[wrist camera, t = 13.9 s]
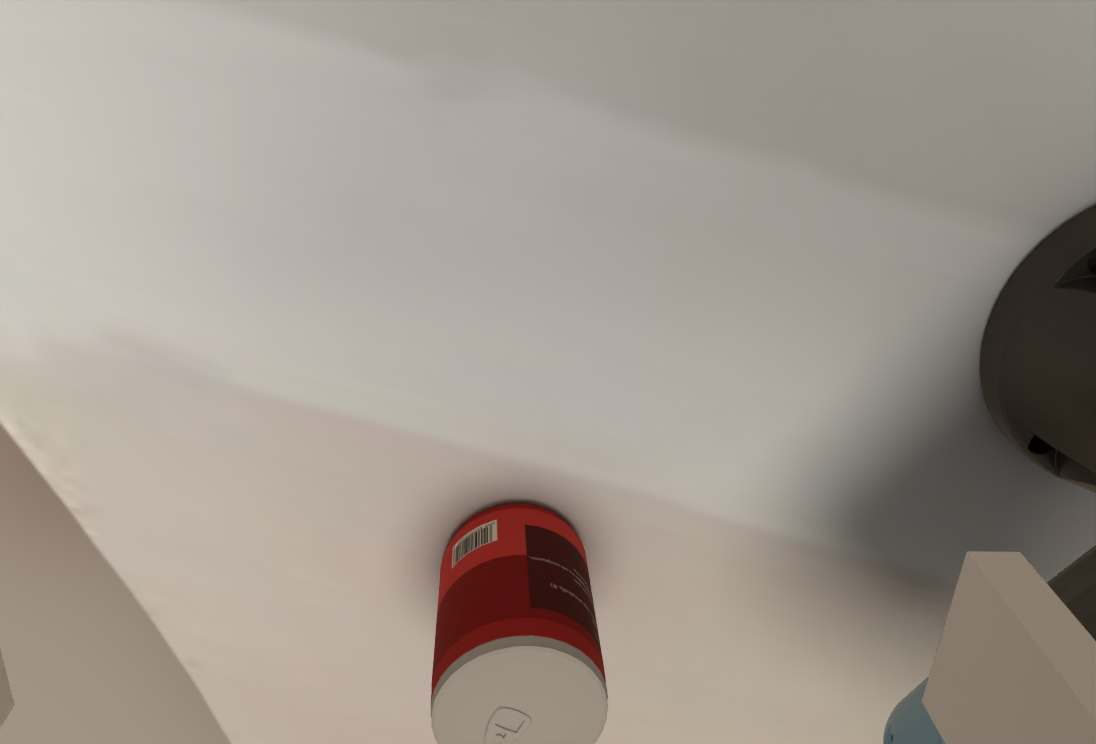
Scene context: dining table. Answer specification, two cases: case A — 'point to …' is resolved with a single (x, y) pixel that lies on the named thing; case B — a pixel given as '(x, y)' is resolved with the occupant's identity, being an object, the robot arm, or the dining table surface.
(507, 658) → the canned food
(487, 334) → the dining table surface
